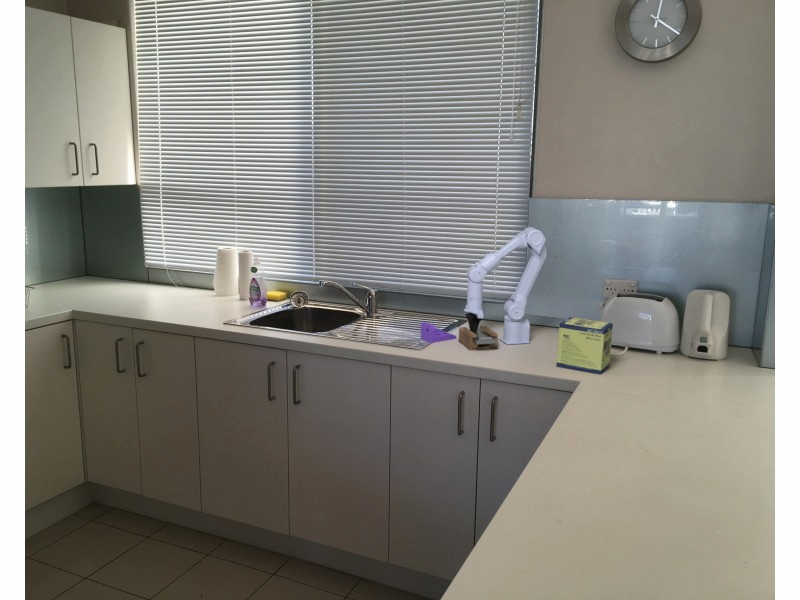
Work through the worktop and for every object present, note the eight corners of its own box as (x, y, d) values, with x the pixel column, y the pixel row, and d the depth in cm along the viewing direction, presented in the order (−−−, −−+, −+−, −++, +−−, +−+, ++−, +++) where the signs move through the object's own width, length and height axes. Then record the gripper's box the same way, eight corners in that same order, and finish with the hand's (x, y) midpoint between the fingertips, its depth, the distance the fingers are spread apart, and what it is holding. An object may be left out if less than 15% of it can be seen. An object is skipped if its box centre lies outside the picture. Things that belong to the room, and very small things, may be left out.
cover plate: (485, 334, 258) (485, 329, 257) (497, 343, 247) (497, 338, 246) (465, 335, 256) (465, 330, 256) (476, 344, 245) (476, 339, 244)
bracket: (431, 343, 257) (431, 326, 255) (420, 339, 262) (421, 322, 261) (456, 339, 263) (456, 322, 262) (445, 335, 269) (445, 318, 267)
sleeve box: (485, 340, 262) (486, 326, 261) (497, 348, 250) (498, 334, 249) (458, 341, 259) (459, 327, 258) (469, 350, 248) (469, 335, 247)
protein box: (601, 375, 222) (605, 329, 219) (555, 366, 230) (558, 322, 227) (610, 367, 231) (613, 322, 228) (565, 359, 239) (568, 316, 236)
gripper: (458, 294, 262) (457, 328, 265) (471, 302, 248) (469, 337, 251) (475, 293, 264) (474, 327, 266) (489, 301, 250) (487, 336, 253)
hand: (473, 332), depth 259 cm, fingers closed
